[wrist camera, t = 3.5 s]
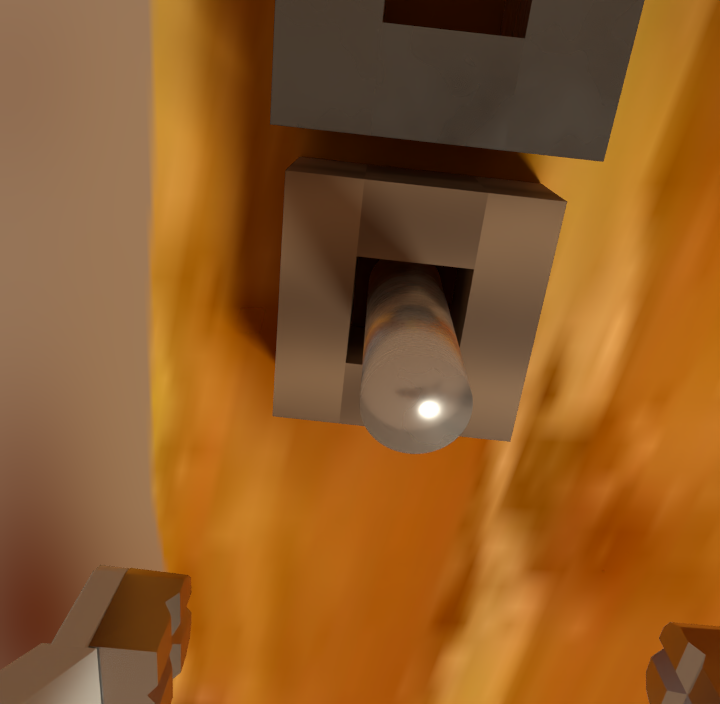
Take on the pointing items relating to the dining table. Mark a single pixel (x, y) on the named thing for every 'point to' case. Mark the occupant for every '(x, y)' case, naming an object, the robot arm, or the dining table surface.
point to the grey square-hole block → (457, 75)
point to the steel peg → (411, 361)
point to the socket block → (418, 245)
